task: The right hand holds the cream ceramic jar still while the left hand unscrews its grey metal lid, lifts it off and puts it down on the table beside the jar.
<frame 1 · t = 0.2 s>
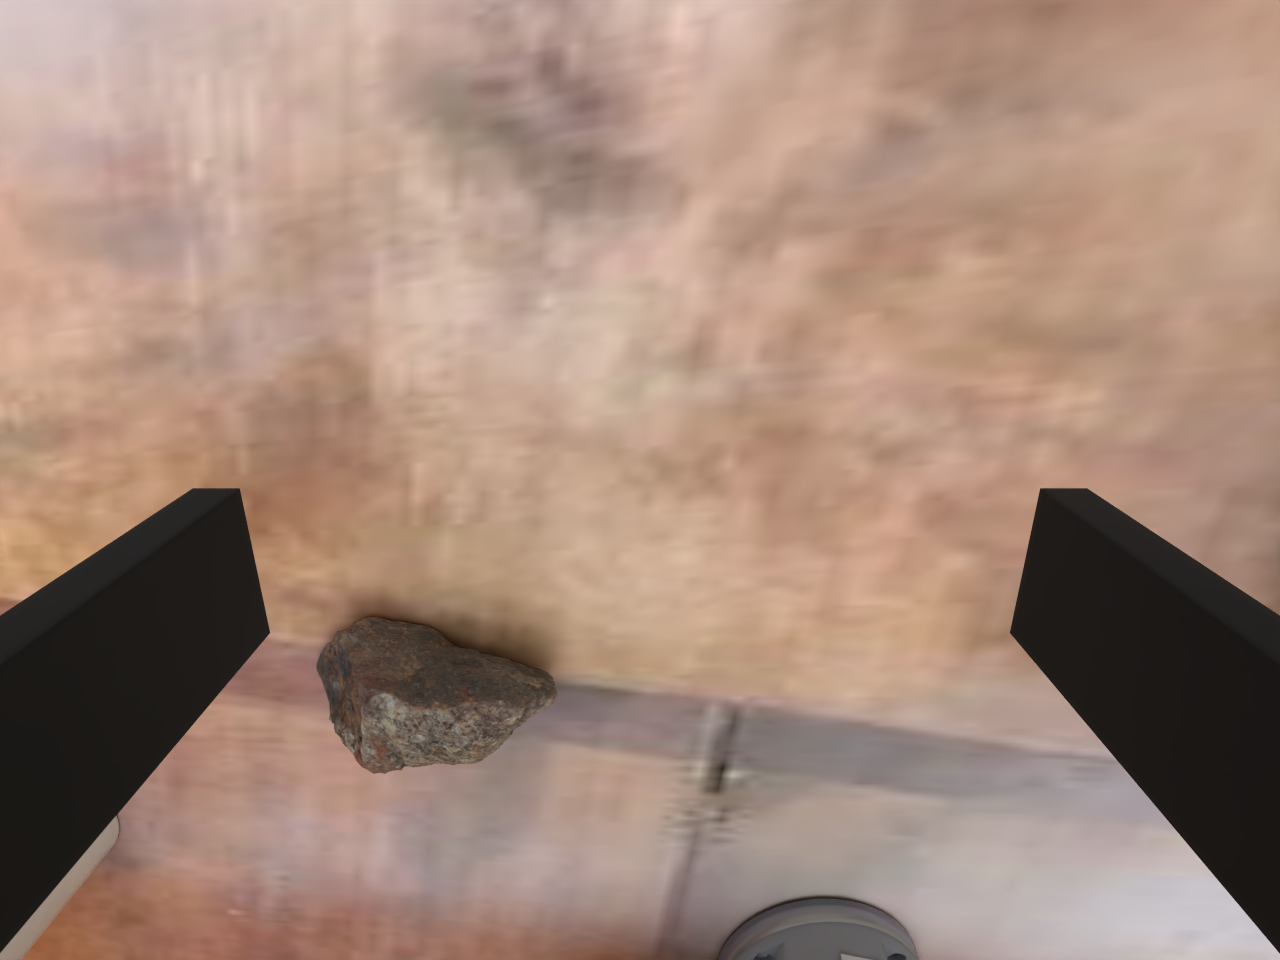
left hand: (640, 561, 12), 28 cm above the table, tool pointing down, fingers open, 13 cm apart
jar: (58, 816, 51), on the table
rock: (438, 670, 47), on the table
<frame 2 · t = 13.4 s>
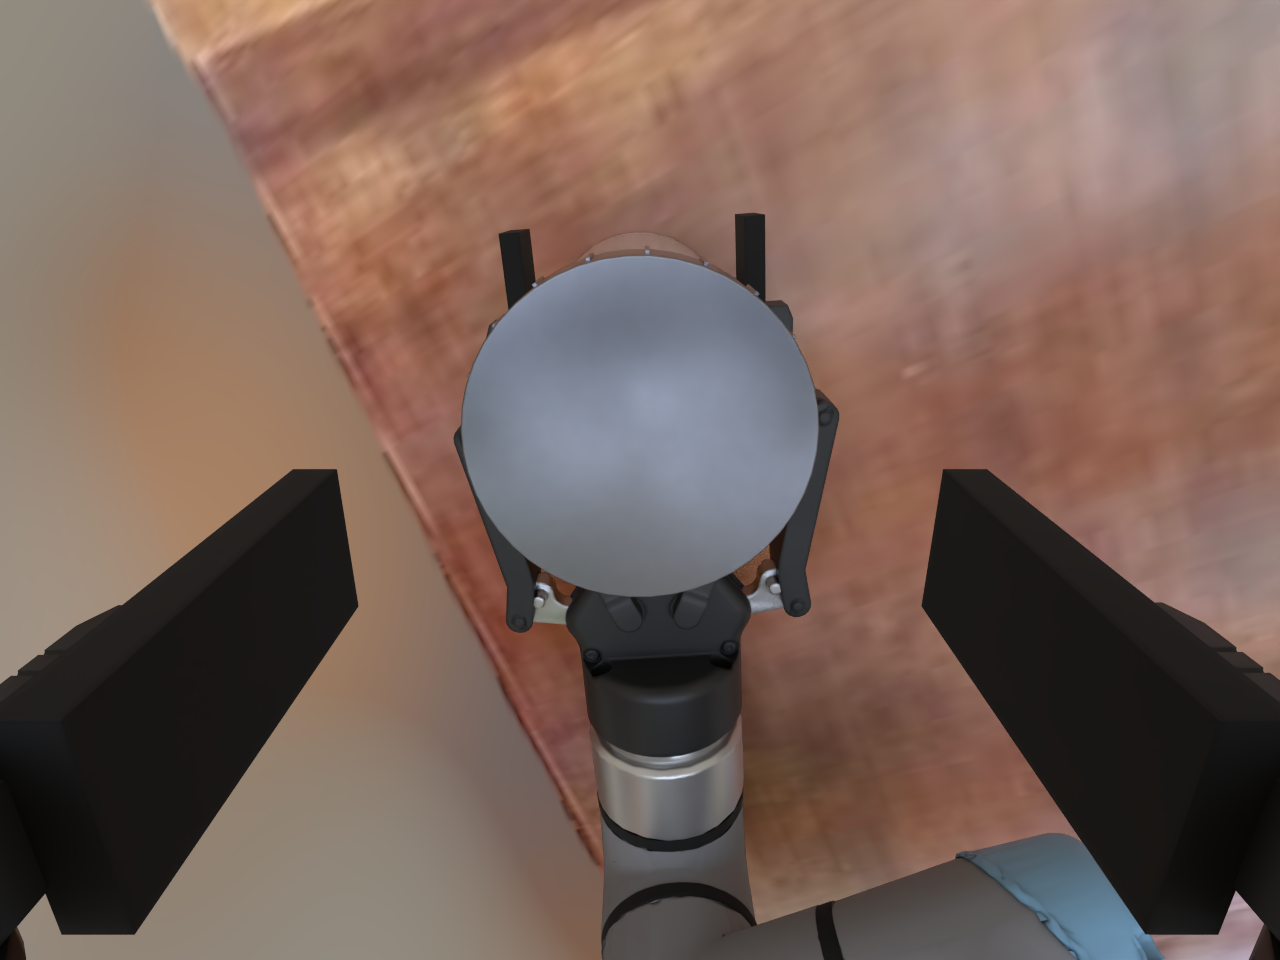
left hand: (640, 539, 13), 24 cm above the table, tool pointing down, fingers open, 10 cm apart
right hand: (631, 223, 28), fingers closed on jar, 8 cm apart
lid: (640, 437, 19), point 18 cm above the table, screwed on, not yet turned
jar: (640, 320, 36), on the table, touching right hand
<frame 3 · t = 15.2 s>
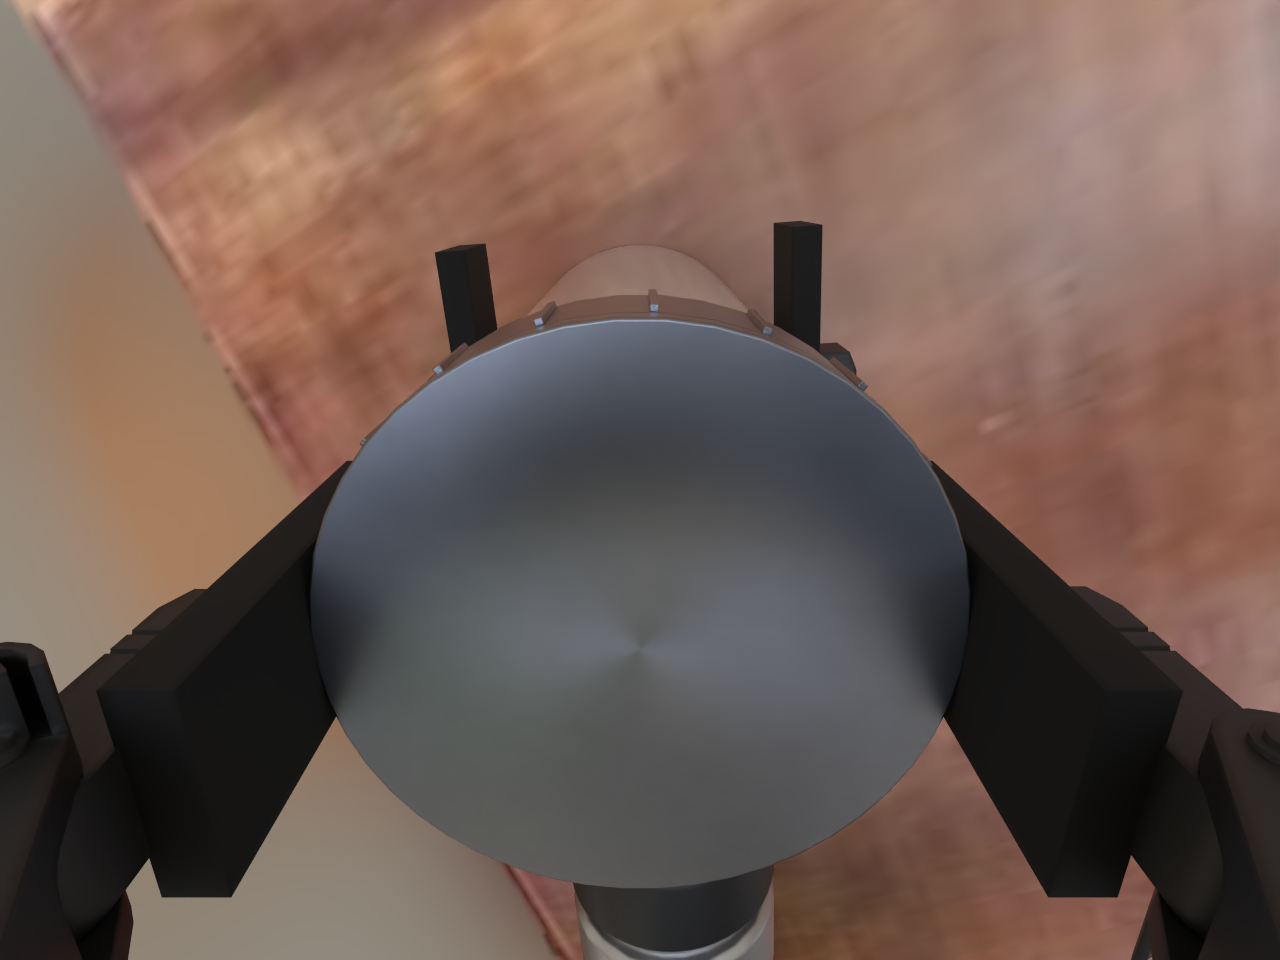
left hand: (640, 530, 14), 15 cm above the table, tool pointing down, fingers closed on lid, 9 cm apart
lid: (639, 635, 10), point 18 cm above the table, screwed on, not yet turned, touching left hand
jar: (640, 360, 28), on the table, touching right hand
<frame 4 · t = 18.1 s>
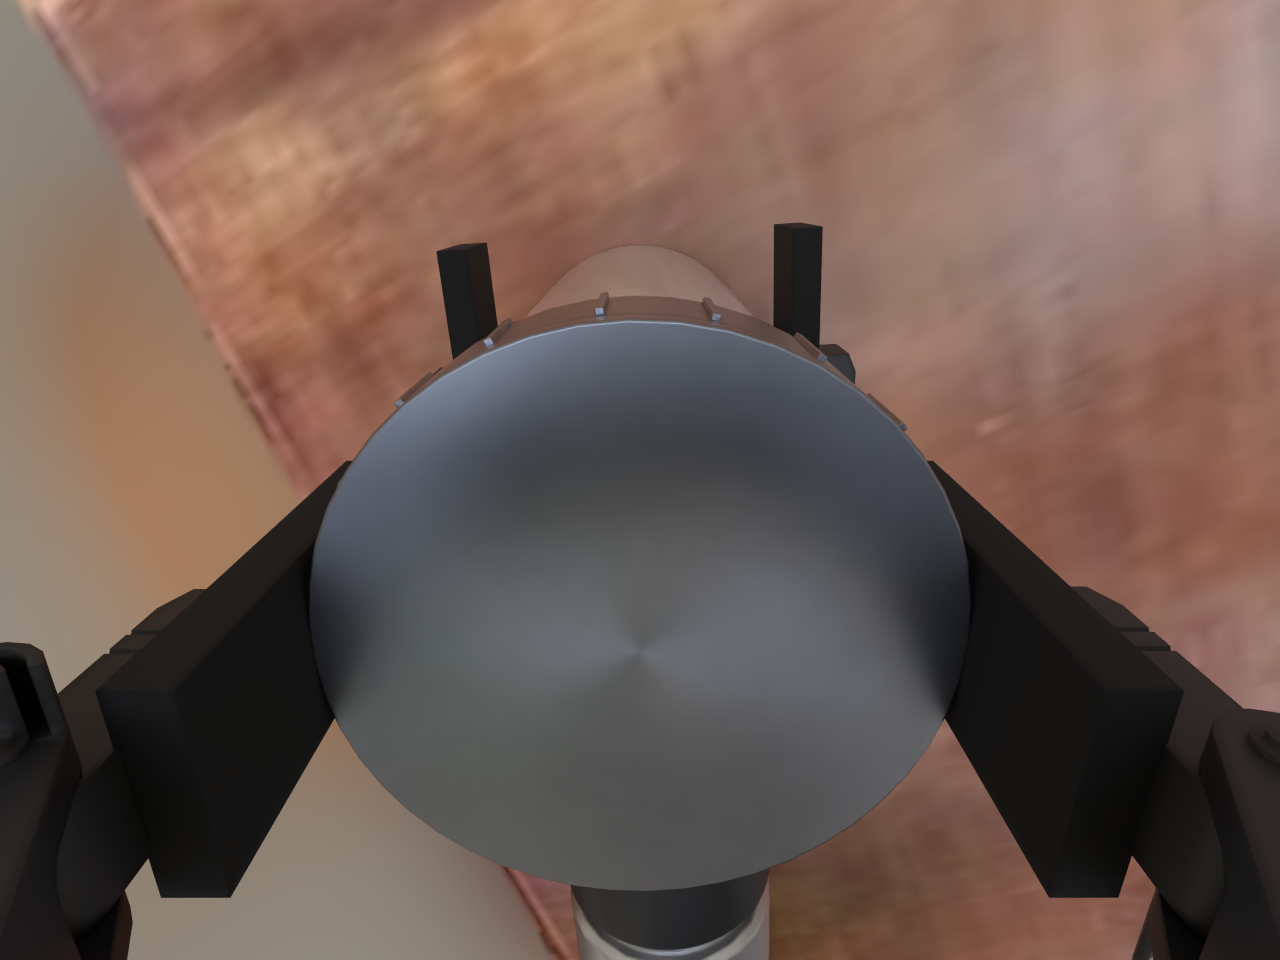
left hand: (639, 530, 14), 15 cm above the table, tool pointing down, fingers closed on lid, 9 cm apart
lid: (639, 637, 10), point 18 cm above the table, turned 81° so far, risen 0.1 cm, still on its thread, touching left hand
jar: (639, 360, 28), on the table, touching right hand
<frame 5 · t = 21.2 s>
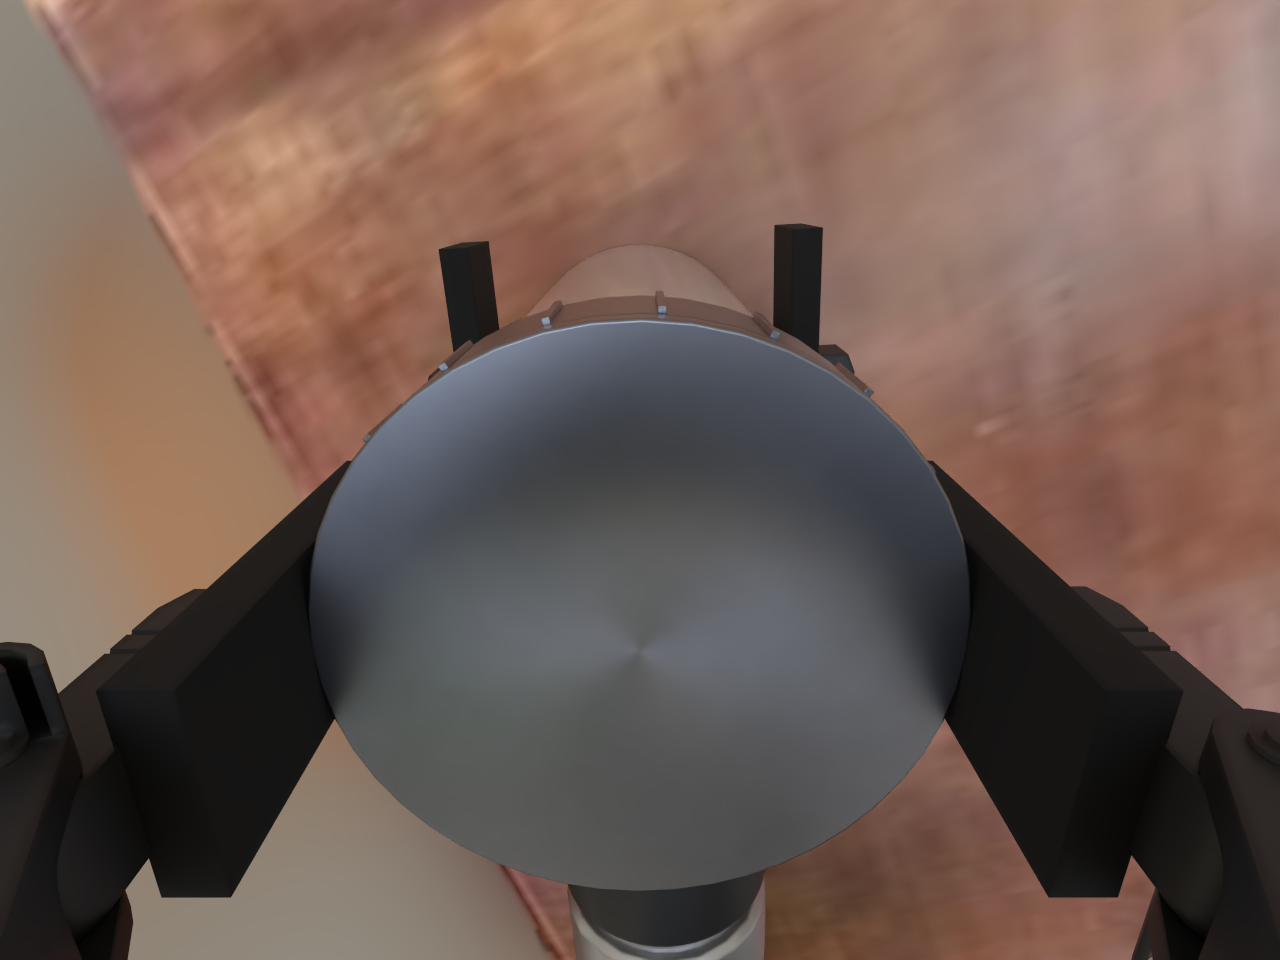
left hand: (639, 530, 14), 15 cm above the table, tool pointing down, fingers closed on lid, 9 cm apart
lid: (639, 636, 10), point 19 cm above the table, turned 162° so far, risen 0.2 cm, still on its thread, touching left hand
jar: (639, 359, 28), on the table, touching right hand
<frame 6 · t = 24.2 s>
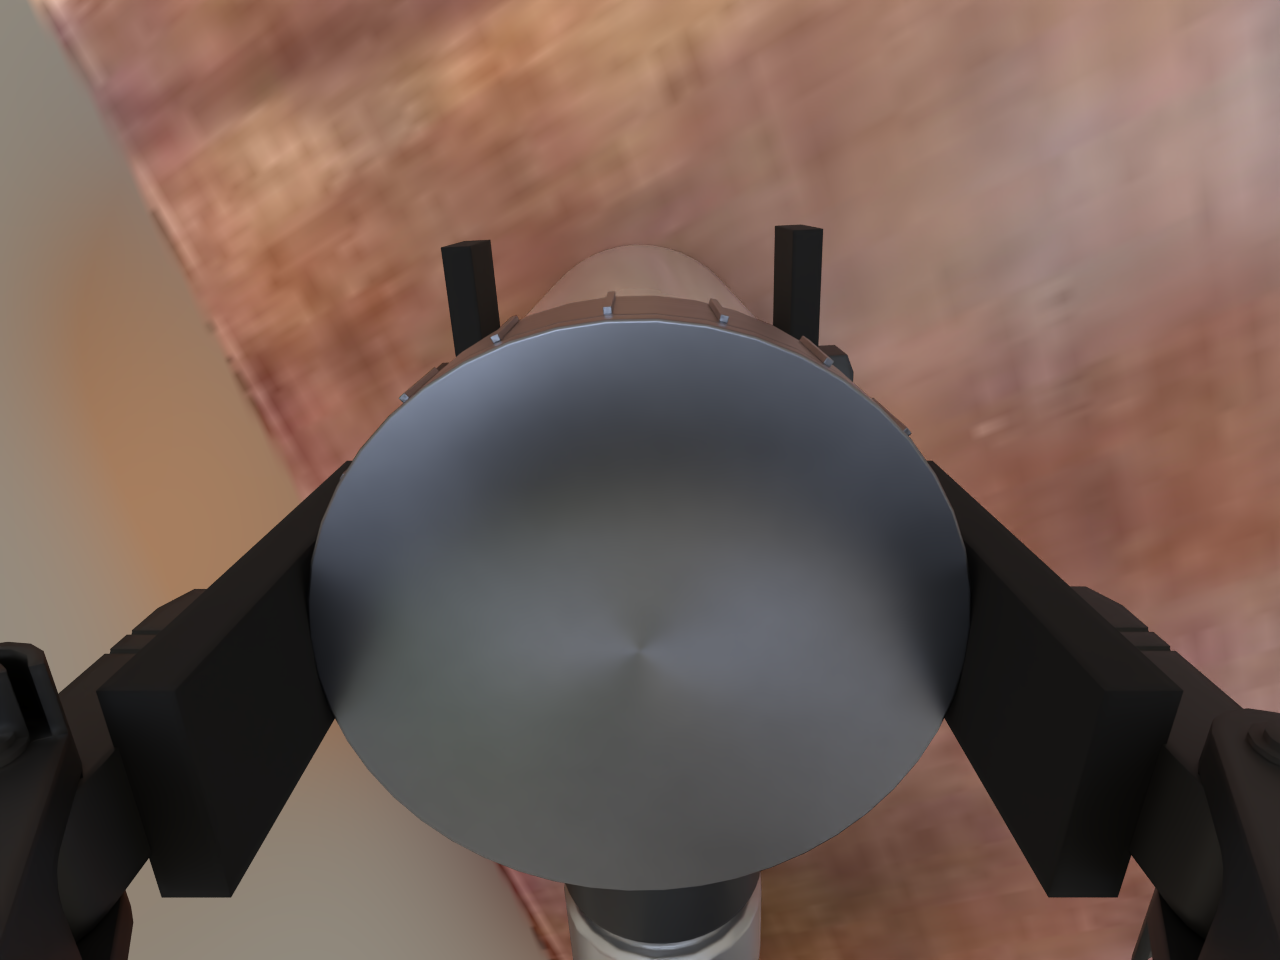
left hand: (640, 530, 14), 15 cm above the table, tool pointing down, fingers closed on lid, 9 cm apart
lid: (639, 636, 10), point 19 cm above the table, turned 242° so far, risen 0.3 cm, still on its thread, touching left hand
jar: (639, 358, 28), on the table, touching right hand
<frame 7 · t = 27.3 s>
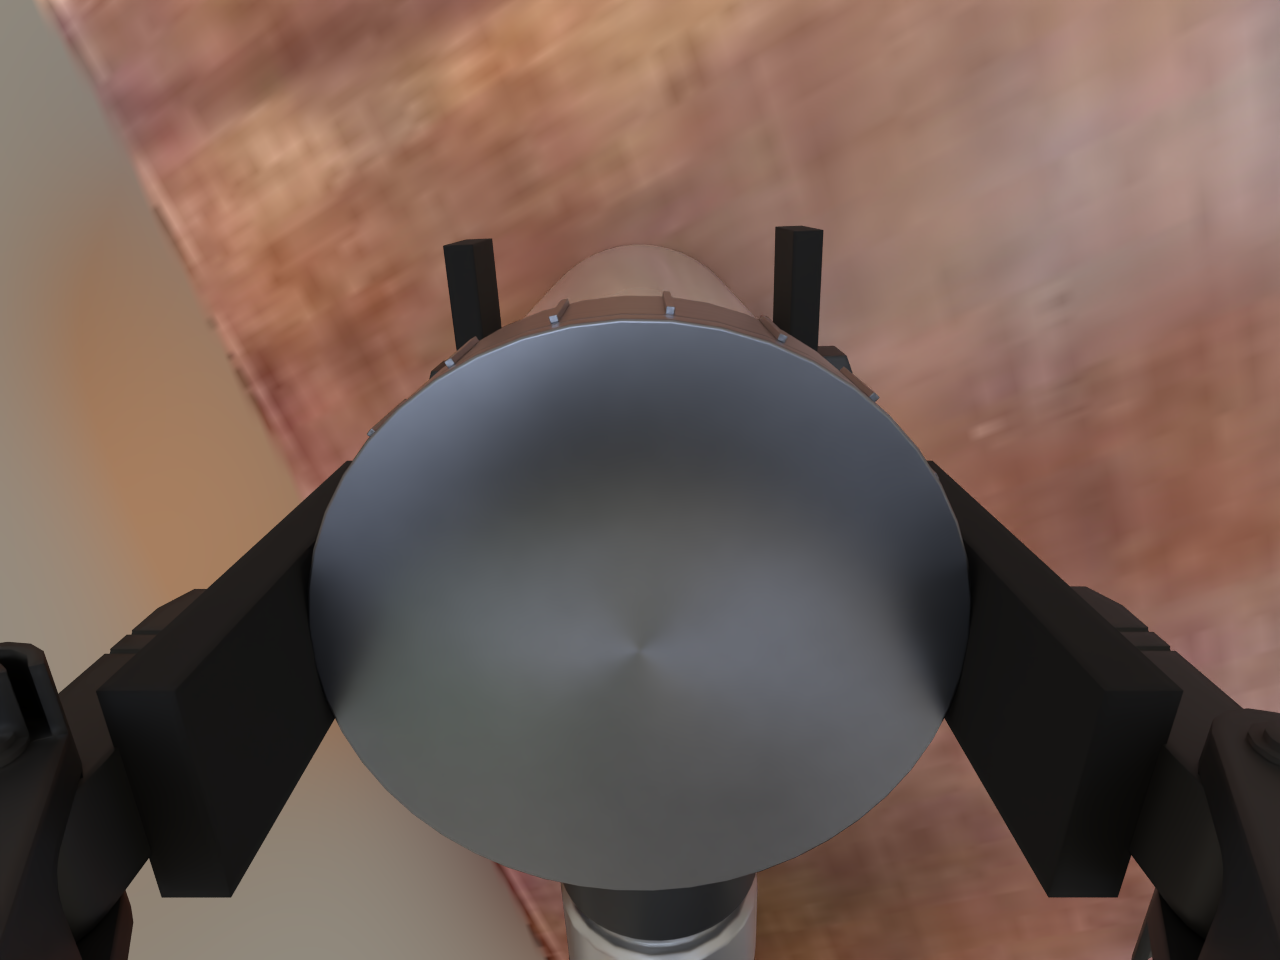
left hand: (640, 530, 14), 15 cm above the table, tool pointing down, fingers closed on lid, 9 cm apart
lid: (639, 636, 10), point 19 cm above the table, turned 323° so far, risen 0.4 cm, still on its thread, touching left hand
jar: (639, 358, 28), on the table, touching right hand
when the left hand's fingers open (0 cm above the table, at t = 37.6 s): lid drops 2 cm, point 2 cm above the table.
when the right hand's fingers open (7 cm above the table, at t = 38.6 s): jar stays where it is, on the table.
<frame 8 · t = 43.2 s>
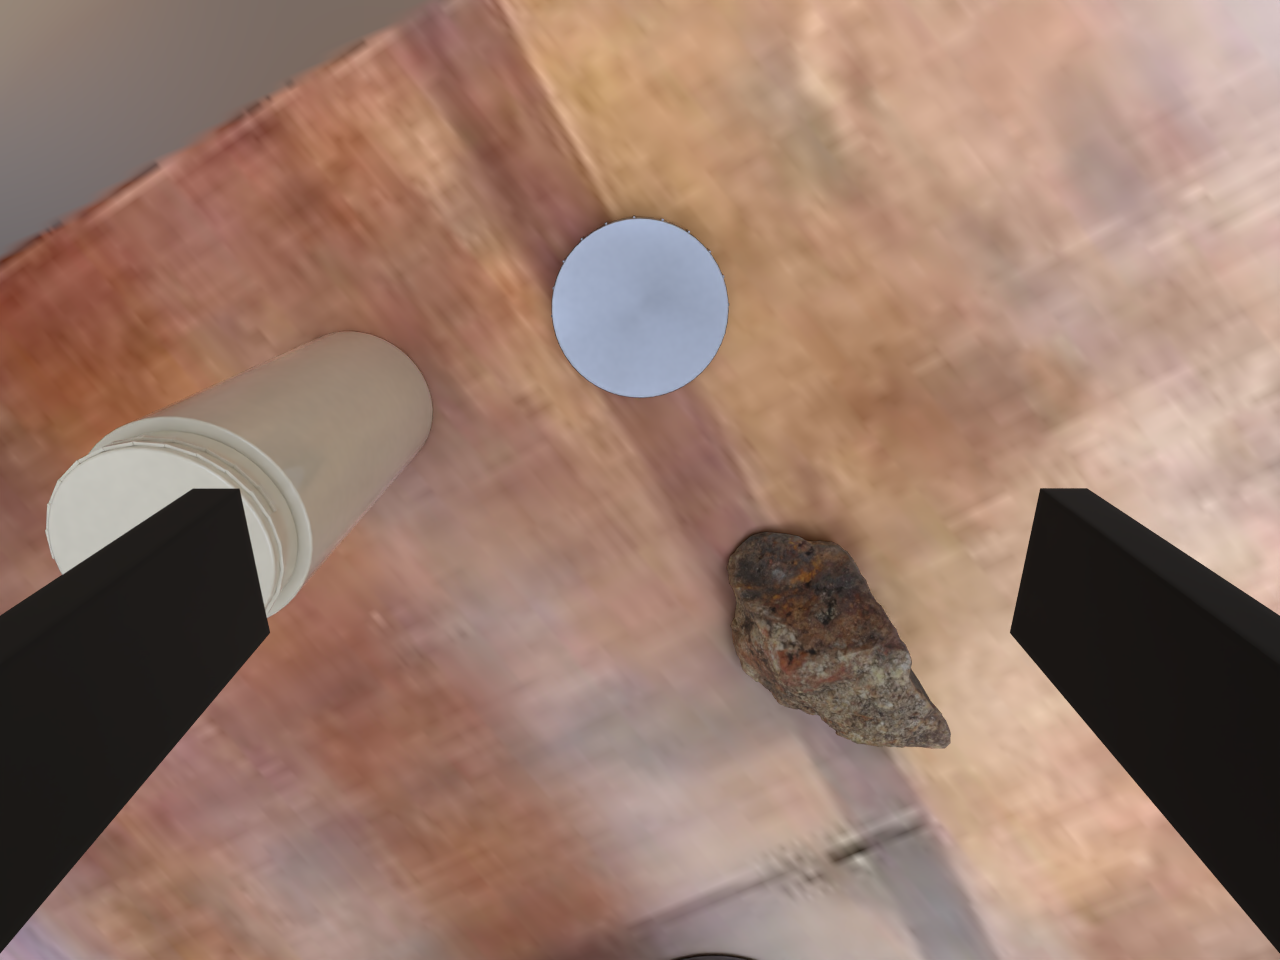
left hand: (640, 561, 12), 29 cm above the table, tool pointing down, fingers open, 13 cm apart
lid: (640, 310, 38), point 2 cm above the table, off its thread
jar: (359, 404, 41), on the table
rock: (811, 621, 46), on the table
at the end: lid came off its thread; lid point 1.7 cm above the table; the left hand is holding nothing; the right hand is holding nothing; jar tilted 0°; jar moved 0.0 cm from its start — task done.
